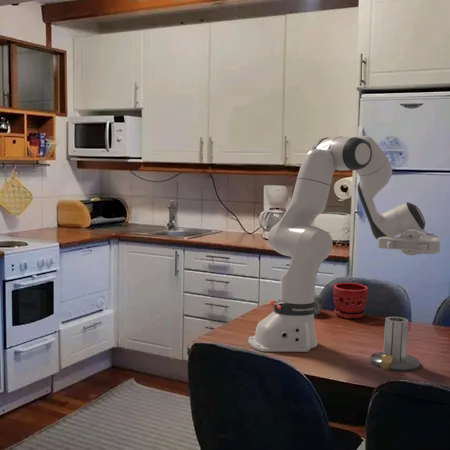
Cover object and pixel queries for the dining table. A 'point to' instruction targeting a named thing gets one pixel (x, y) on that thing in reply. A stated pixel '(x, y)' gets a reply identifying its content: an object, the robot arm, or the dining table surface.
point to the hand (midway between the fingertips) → (405, 246)
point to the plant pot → (350, 299)
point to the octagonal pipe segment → (396, 338)
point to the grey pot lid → (386, 362)
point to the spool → (317, 304)
